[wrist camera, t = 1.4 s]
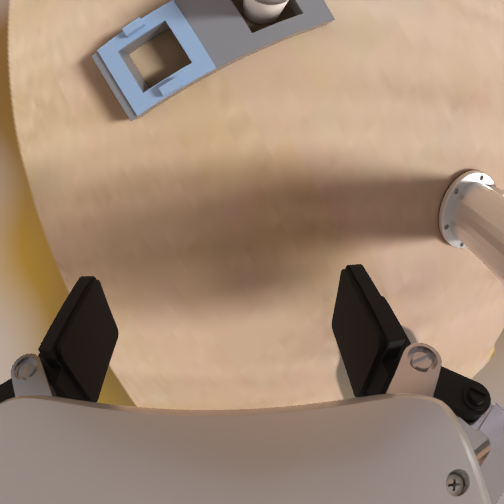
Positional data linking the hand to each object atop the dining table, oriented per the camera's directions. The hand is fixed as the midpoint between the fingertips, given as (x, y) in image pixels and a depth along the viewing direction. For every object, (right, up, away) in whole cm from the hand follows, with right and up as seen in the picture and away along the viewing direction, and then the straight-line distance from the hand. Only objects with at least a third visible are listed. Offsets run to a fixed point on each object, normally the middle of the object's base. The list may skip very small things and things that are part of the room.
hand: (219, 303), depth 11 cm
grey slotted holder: (-3, +25, +14) cm, 28 cm away
